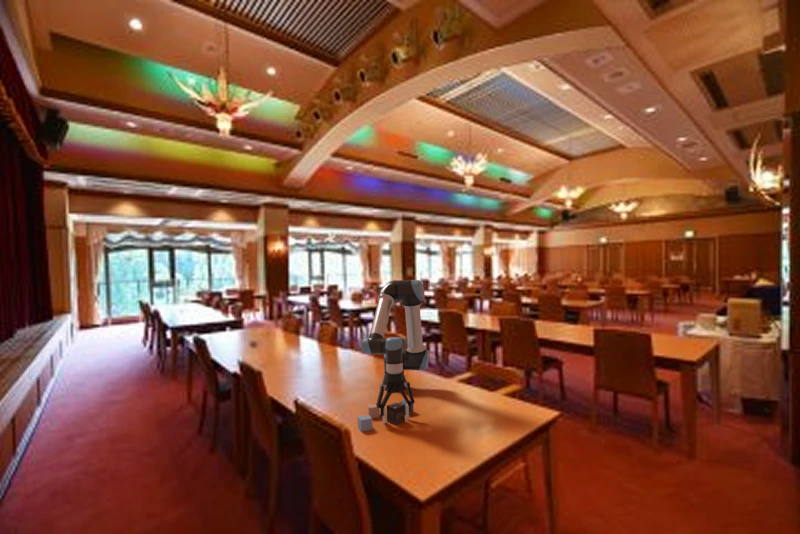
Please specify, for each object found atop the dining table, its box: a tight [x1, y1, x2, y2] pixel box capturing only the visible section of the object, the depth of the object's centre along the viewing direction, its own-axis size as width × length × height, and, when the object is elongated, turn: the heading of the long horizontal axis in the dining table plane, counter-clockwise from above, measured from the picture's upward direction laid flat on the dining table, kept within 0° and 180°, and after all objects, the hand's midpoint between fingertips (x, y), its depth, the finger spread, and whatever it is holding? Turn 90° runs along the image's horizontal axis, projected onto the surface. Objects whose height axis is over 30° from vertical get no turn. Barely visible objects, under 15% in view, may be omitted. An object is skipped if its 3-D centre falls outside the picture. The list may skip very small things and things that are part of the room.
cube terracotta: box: [367, 403, 381, 419], centre depth 180 cm, size 5×5×5 cm
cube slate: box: [357, 414, 373, 433], centre depth 166 cm, size 5×5×5 cm
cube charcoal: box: [398, 399, 415, 416], centre depth 184 cm, size 5×5×5 cm
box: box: [386, 402, 406, 425], centre depth 173 cm, size 6×6×7 cm
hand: (396, 420), depth 173 cm, fingers open, 10 cm apart
